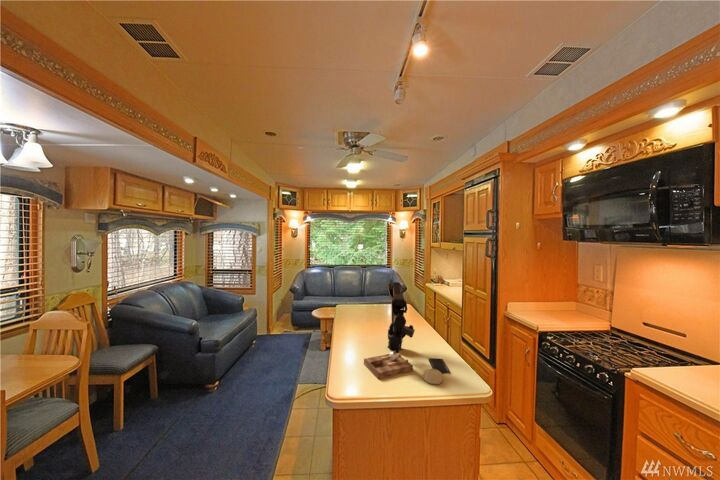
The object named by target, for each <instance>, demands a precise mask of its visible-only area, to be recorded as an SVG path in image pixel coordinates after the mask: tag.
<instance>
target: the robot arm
mask: <svg viewBox="0 0 720 480" xmlns="http://www.w3.org/2000/svg"><path fill="white" fill-rule="evenodd" d="M402 290H403V285H402V284H401V283H400V282H398V281H397V282H394V281H393V282H390V283H388V285H387V291H388V295H389V297H390V299H391V305H390V306H391V307H390V308H391V322H390V325H389V327H388V329H387V341H388V342H387V343H388V344H387V345H388V346H387V348H388V349H389V350H391V352H392V351H396V352H397V353H398V354H400V350H401V351H402V350H403V349H402V345H403V342H404V338H405V337H406V336H407V337H409V338H413V336H414V333H415V328H414V325H412V324H410V325H409V326H408V325H407V326H406V324H407V319H406V318H405V314H407V311H408V303H407V300H405V299H406V298H405V297H404V296H403V295H402Z"/></svg>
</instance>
